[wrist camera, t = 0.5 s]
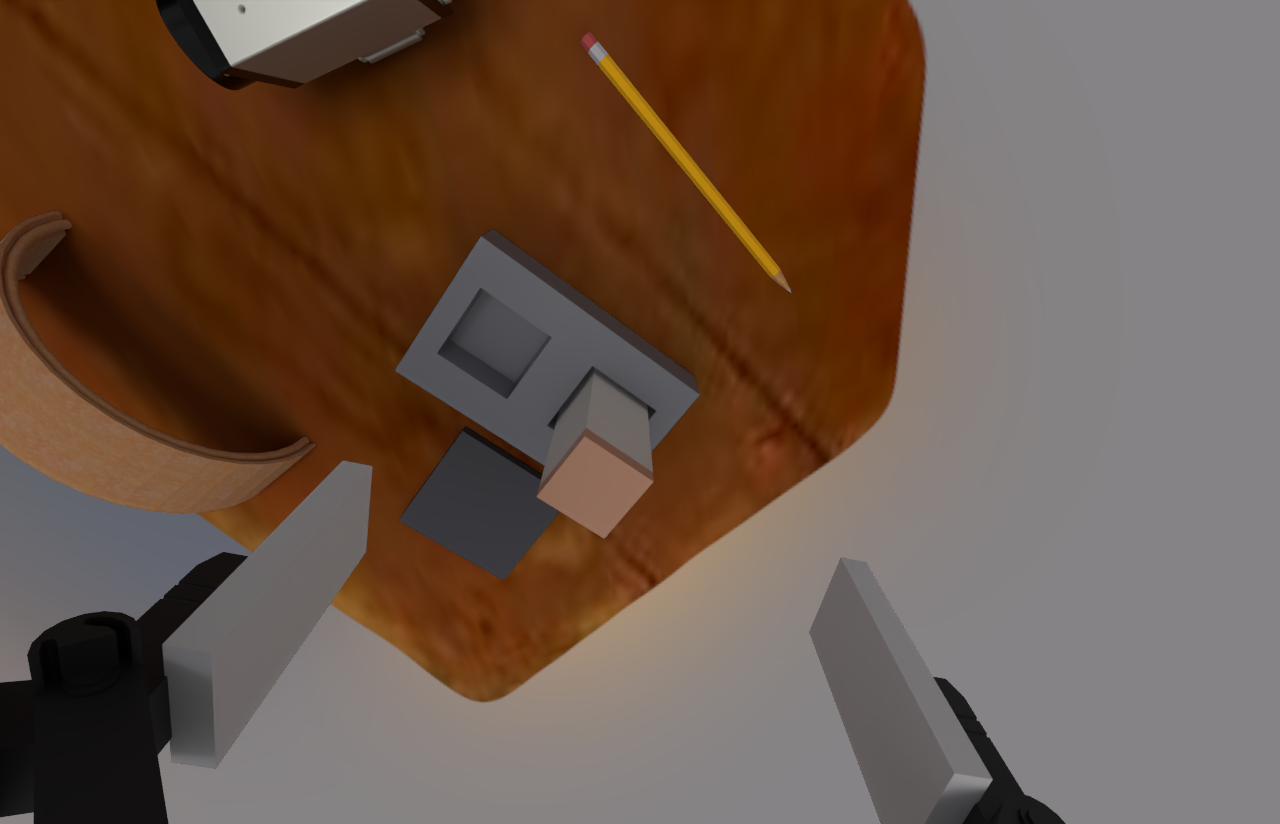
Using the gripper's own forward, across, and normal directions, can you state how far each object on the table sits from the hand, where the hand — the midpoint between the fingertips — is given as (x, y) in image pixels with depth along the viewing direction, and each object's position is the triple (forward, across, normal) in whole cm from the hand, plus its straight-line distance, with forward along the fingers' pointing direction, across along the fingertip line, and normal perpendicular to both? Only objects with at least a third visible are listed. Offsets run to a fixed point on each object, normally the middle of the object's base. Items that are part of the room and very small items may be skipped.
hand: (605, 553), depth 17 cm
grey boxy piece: (+25, -4, -4) cm, 26 cm away
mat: (+25, -7, -15) cm, 30 cm away
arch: (+25, -29, -9) cm, 39 cm away
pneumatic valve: (+25, -17, +14) cm, 33 cm away
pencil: (+26, +2, +10) cm, 28 cm away
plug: (+25, 0, -5) cm, 25 cm away
